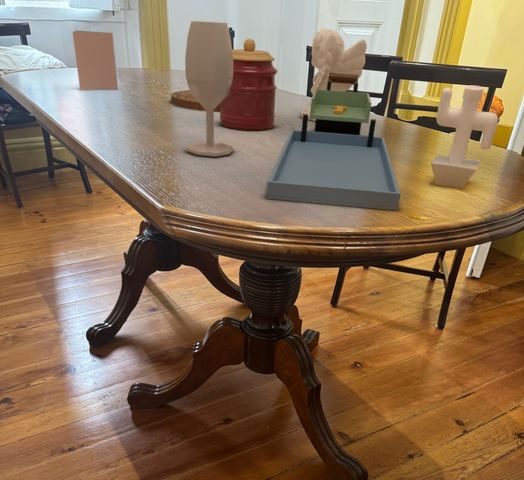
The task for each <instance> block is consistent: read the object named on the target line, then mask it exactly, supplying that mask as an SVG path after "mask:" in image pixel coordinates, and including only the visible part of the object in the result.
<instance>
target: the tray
mask: <svg viewBox="0 0 524 480" xmlns="http://www.w3.org/2000/svg"><path fill="white" fill-rule="evenodd" d="M301 133H302V130H299V129H298V130H297V129H291V131H290V132H289V135H288V137H287V139H286V141H285V143H284V146H283V147H282V150H281V152H280V154H279V157H278V159H277V161H276V163H275V165H274V167H273V169H272V171H271V174H270V176H269V178H268V180H267V185H266V199H267V200H279V201H288V202H289V201H290V202H300V203H310V204H312V203H313V204H320V205H321V204H322V205H323V204H324V205H333V206H345V207H354V208H364V209H376V210H387V211H398V209H399V204H400V198H401V194H402V193H401V190H400V187H399V184H398V181H397V177H396V174H395V171H394V167H393V164H392V160H391V157H390V153H389V151H388V150H389V149H388V147H387V144H386V140H385V137H384V136H373V143H372V148H369V147H367V142H368V135H361V134H360V135H349V134H336V133H324V132H315V131H313V130H312V131H310V130H307V132H306V142H301Z"/></svg>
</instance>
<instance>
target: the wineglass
mask: <svg viewBox="0 0 524 480" xmlns="http://www.w3.org/2000/svg"><path fill="white" fill-rule="evenodd" d="M232 50H233V45H232V37H231V32H230V29H229V25H228V23H227V22H221V21H220V22H219V21H218V22H217V21H205V20H204V21H203V20H202V21H201V20H200V21H199V20H191V21H190V25H189V29H188V33H187V37H186V48H185V56H184V57H185V58H184V60H185V61H184V64H185V68H184V69H185V79H186V83H187V88H188V90H189V91H190V94H191V95H192V96H193V97H194V98H195V99H196V100H197V101H198V102H199V103H200V104H201V105H202V106H203V107H204V108H205V109H206V112H205V119H206V120H205V121H206V122H205V129H206V130H205V133H206V134H205V135H206V136H205V139H206V140H205V141H203V142H193V143H191V144H189V145H187V146H186V148H185V151H186V152H188V153H190V154H194V155H195V156H203V157H204V156H205V157H215V158H216V157H221V156H227V155H231V153H233V151H234V146H232V145H228V144H225V143H223V142H215V137H214V136H215V132H214V131H215V128H214V127H215V125H214V123H215V122H214V121H215V120H214V119H215V117H214V113H215V111H214V109H215V108H216V107H217V106H218V105H219V104H220V103H221V102H222V101H223V100H224V99H225V98H226V97H227V96H228V95H229V92H230V88H231V84H232V80H233V53H232Z"/></svg>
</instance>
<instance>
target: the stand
mask: <svg viewBox="0 0 524 480" xmlns="http://www.w3.org/2000/svg"><path fill="white" fill-rule="evenodd" d="M308 121H309V120H308V114H303V118H302V121H301V123H302V124H301V131H302V133H301V142H306V132H307V131H308ZM376 122H377V119H375V118H370V123H369V129H368V135H367V136H368V142H367V147H369V148H372V143H373V137H375V136H374V135H375V130H376V124H377V123H376ZM361 129H362V123H359V122H346V121H334V120H321V119H316V121H314V132H324V133H336V134H349V135H361Z"/></svg>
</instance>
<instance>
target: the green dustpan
mask: <svg viewBox="0 0 524 480" xmlns="http://www.w3.org/2000/svg"><path fill="white" fill-rule="evenodd" d="M331 83H344V84H354V85H352V90H353V91H345V92H344V91H331ZM358 90H359V78H358V75H353V74H339V73H329V79H328V83H327V90H317V89H315V91H314V94H312V97H311V101H310V103H311V110H310V119H321V120H334V121H346V122H359V123H361V124H369V121H370V117H371V110H372V109H371V108H372V100H371V96H370V94H369V92H358ZM316 104H318V105H316ZM329 105H331V106H329ZM334 106H345V107H347V109H346V111H343V114H342V115H341V114H333V112H334Z"/></svg>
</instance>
